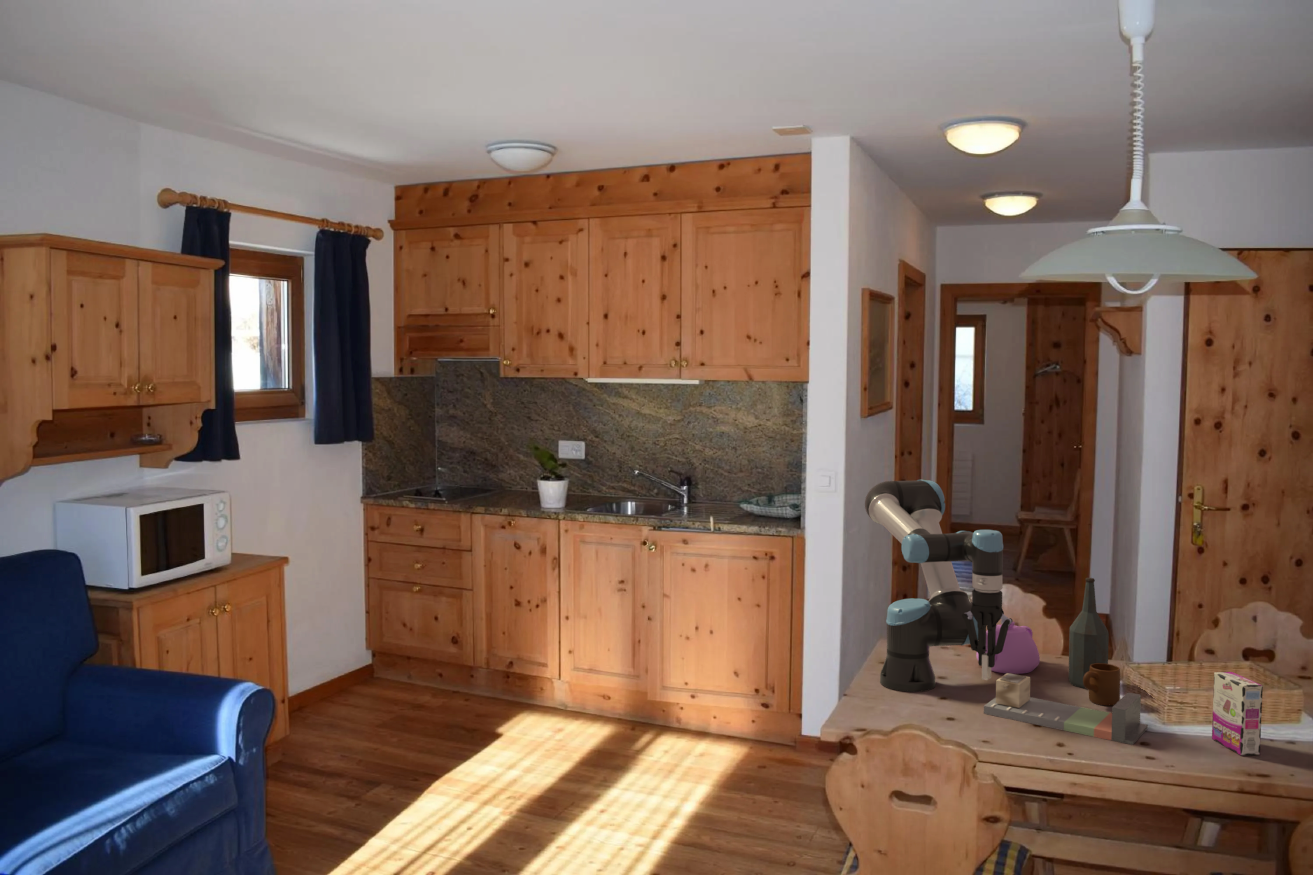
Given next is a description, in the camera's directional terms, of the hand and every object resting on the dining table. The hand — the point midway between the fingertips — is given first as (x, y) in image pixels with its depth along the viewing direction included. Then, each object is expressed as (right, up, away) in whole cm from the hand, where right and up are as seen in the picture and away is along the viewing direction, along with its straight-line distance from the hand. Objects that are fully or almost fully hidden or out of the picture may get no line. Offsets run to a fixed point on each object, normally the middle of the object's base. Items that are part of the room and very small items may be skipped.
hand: (986, 678), depth 269 cm
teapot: (+16, -5, +34) cm, 38 cm away
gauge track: (+14, -8, -10) cm, 19 cm away
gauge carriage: (+5, -5, -4) cm, 8 cm away
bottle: (+34, -6, +17) cm, 39 cm away
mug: (+30, -7, +1) cm, 31 cm away
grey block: (+27, -8, -21) cm, 35 cm away
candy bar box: (+49, -9, -30) cm, 58 cm away
